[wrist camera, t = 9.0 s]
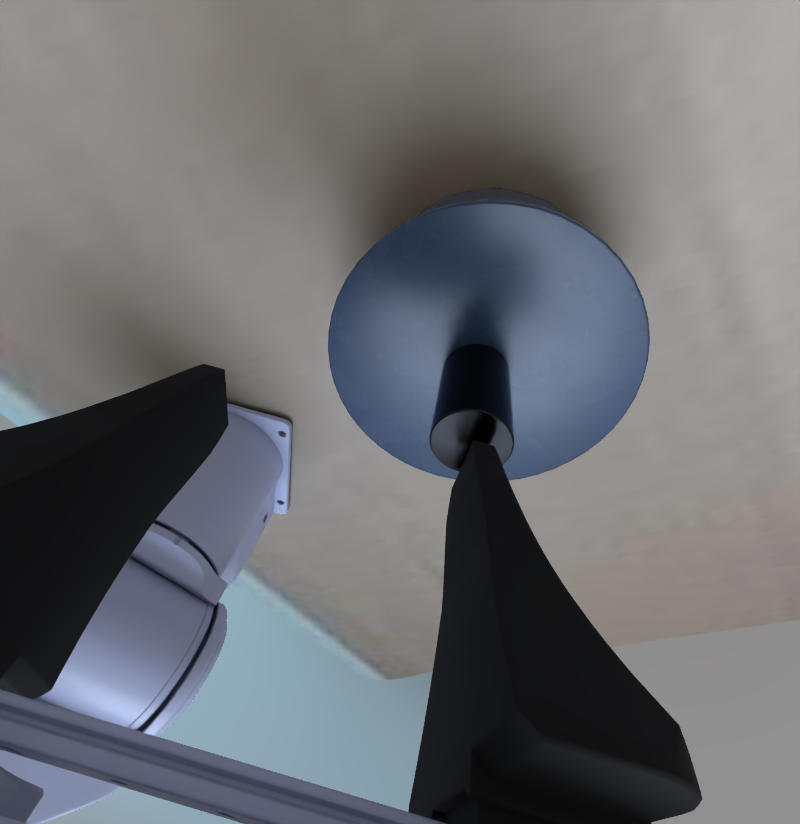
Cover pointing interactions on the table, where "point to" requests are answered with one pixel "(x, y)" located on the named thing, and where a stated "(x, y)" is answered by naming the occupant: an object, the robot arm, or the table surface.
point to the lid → (489, 338)
